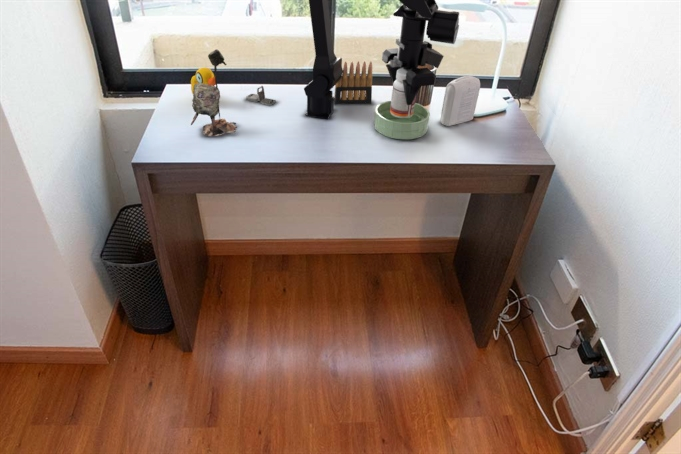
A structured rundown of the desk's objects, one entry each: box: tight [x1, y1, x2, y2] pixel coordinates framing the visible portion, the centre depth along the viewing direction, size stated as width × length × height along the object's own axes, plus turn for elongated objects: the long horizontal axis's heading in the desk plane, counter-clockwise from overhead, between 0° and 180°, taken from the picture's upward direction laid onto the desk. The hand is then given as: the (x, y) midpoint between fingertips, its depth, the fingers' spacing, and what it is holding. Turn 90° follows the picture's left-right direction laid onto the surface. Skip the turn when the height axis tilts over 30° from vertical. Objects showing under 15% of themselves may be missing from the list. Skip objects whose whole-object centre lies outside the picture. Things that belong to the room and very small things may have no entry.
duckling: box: [190, 67, 216, 95], centre depth 139 cm, size 11×5×10 cm, turn 44°
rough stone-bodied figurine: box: [190, 49, 238, 137], centre depth 123 cm, size 8×11×20 cm
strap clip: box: [246, 85, 277, 106], centre depth 143 cm, size 8×3×4 cm, turn 65°
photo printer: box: [439, 75, 481, 127], centre depth 136 cm, size 10×4×12 cm, turn 123°
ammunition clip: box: [333, 60, 373, 105], centre depth 143 cm, size 11×2×12 cm, turn 97°
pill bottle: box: [390, 68, 417, 118], centre depth 128 cm, size 6×6×11 cm
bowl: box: [373, 100, 431, 140], centre depth 133 cm, size 14×14×5 cm
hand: (403, 99), depth 129 cm, fingers closed on pill bottle, 6 cm apart
